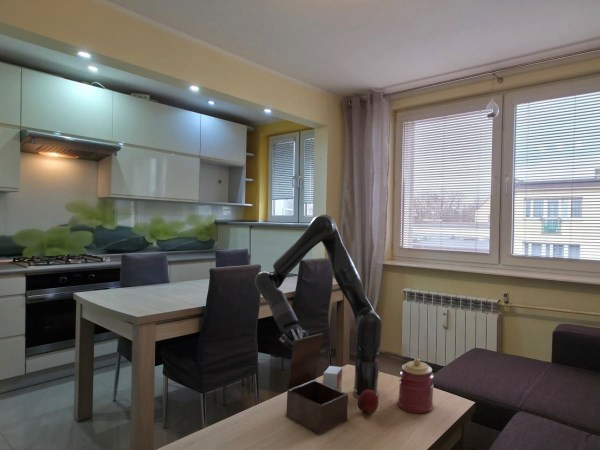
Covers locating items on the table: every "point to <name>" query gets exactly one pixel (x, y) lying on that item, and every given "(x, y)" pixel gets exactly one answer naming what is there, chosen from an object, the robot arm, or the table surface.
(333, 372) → the small box
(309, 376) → the lid
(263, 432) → the table surface
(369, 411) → the apple
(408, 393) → the kitchen canister
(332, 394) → the chest
